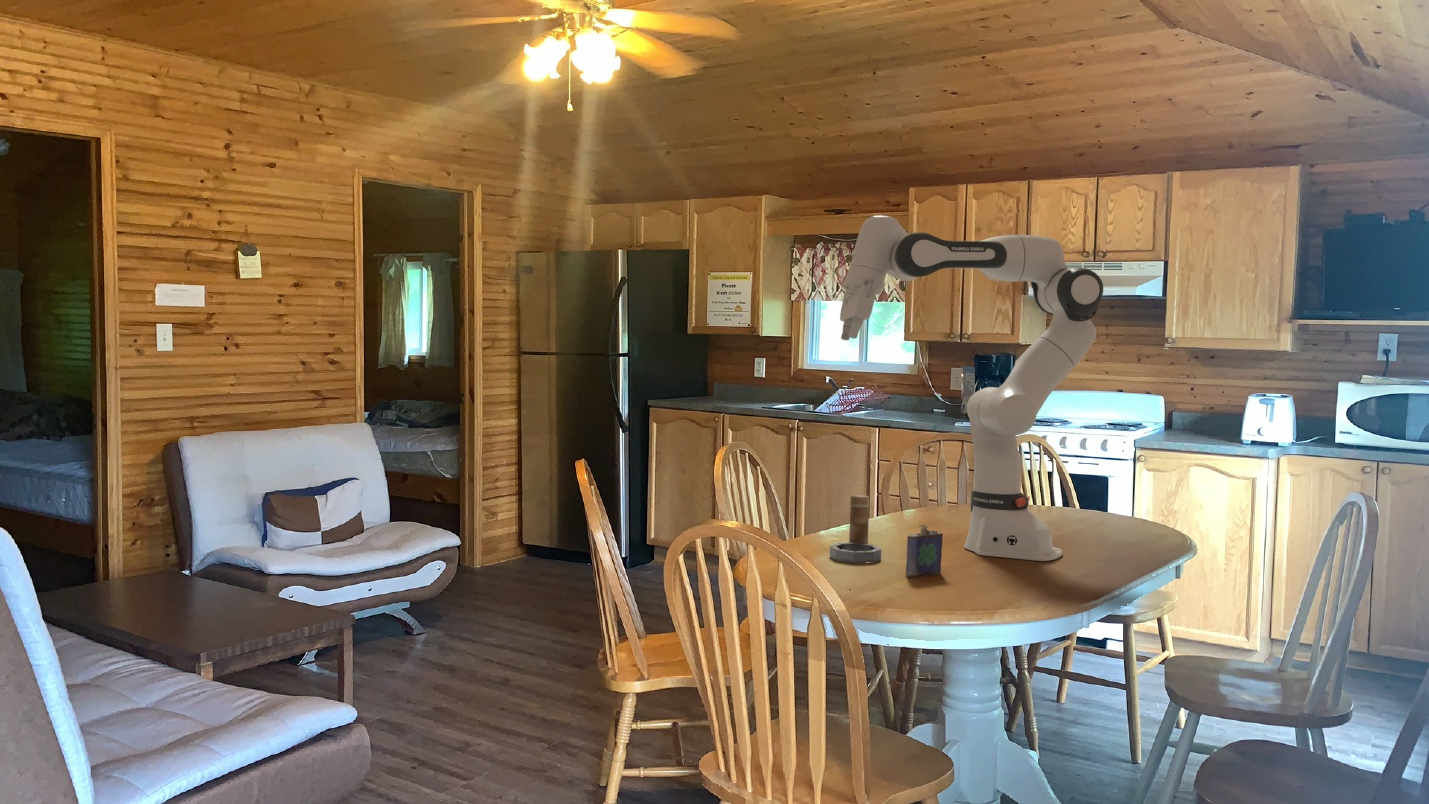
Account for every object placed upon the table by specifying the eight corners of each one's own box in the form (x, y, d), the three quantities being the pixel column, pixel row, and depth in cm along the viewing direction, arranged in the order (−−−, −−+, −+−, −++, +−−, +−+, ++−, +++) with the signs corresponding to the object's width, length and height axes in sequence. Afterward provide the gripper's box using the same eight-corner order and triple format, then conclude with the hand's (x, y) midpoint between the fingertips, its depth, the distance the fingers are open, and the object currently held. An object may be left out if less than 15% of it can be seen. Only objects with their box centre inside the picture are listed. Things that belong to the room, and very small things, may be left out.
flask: (911, 578, 225) (912, 528, 224) (901, 575, 227) (903, 525, 227) (943, 574, 229) (945, 525, 229) (934, 571, 232) (936, 522, 231)
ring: (886, 557, 245) (887, 546, 245) (866, 565, 236) (866, 554, 236) (844, 551, 251) (844, 540, 251) (823, 558, 242) (823, 548, 242)
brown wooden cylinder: (871, 545, 259) (872, 496, 259) (862, 548, 255) (864, 498, 255) (854, 542, 262) (855, 494, 261) (845, 545, 258) (847, 496, 257)
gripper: (887, 281, 241) (870, 340, 241) (868, 290, 261) (852, 344, 261) (860, 273, 240) (843, 332, 240) (843, 282, 261) (828, 337, 261)
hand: (848, 338), depth 251 cm, fingers open, 8 cm apart
